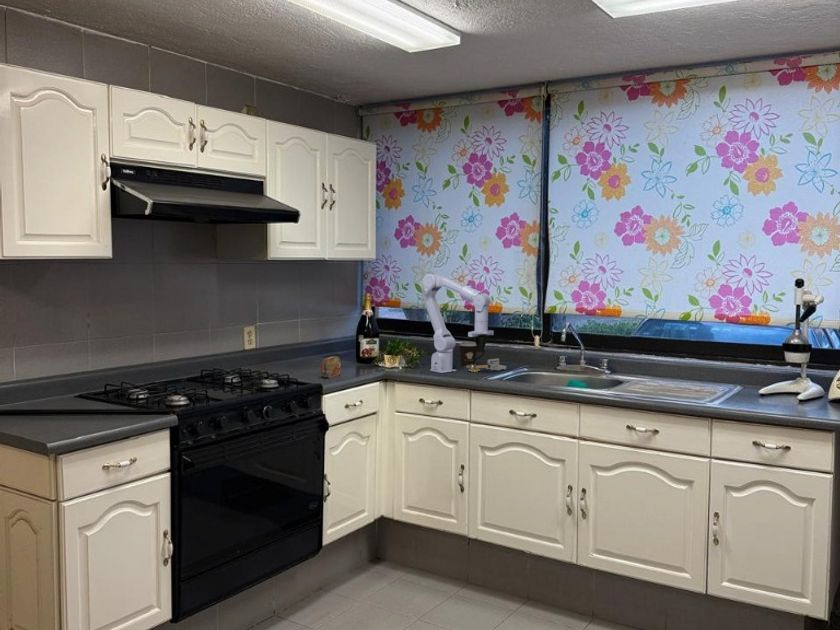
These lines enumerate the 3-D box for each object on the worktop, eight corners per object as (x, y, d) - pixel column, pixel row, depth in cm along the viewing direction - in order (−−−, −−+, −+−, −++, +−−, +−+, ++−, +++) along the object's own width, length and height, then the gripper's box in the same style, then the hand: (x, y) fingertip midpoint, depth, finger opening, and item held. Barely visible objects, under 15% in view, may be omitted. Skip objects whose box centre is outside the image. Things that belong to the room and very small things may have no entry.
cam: (471, 372, 336) (471, 365, 336) (465, 370, 342) (465, 363, 341) (493, 371, 340) (493, 364, 340) (487, 369, 346) (487, 362, 346)
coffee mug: (456, 366, 354) (457, 345, 353) (461, 364, 362) (461, 343, 361) (481, 368, 351) (481, 346, 350) (484, 365, 359) (485, 344, 358)
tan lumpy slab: (326, 379, 312) (326, 359, 311) (319, 379, 313) (320, 359, 312) (342, 374, 326) (342, 355, 326) (335, 373, 327) (335, 354, 327)
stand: (494, 370, 343) (495, 360, 343) (486, 369, 347) (486, 359, 346) (506, 369, 349) (506, 359, 348) (497, 367, 352) (498, 358, 352)
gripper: (477, 322, 321) (476, 354, 322) (499, 321, 331) (498, 351, 332) (464, 321, 326) (464, 352, 327) (487, 320, 336) (486, 350, 337)
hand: (480, 352), depth 330 cm, fingers closed
